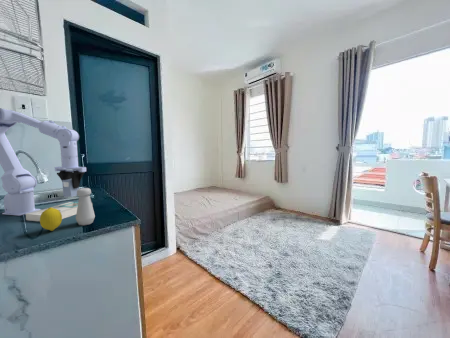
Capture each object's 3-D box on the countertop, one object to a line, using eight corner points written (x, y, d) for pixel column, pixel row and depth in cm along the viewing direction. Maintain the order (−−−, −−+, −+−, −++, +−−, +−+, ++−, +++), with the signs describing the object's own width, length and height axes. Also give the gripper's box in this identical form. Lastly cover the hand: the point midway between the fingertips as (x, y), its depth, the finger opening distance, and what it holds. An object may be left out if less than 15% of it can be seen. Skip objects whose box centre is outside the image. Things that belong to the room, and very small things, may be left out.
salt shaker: (85, 226, 70) (82, 190, 68) (71, 225, 71) (69, 189, 69) (99, 221, 75) (97, 187, 74) (86, 220, 76) (84, 186, 75)
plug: (62, 196, 85) (61, 180, 85) (72, 194, 90) (71, 179, 89) (70, 196, 85) (69, 180, 84) (79, 194, 89) (78, 179, 88)
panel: (26, 220, 76) (25, 213, 76) (71, 207, 93) (70, 201, 93) (51, 222, 74) (51, 215, 73) (92, 208, 91) (92, 202, 91)
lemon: (49, 227, 69) (48, 205, 68) (66, 227, 69) (65, 205, 68) (36, 234, 63) (33, 210, 62) (54, 234, 64) (52, 209, 63)
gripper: (46, 157, 83) (48, 188, 85) (74, 157, 81) (77, 190, 82) (62, 156, 90) (65, 185, 92) (89, 156, 87) (91, 187, 89)
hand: (71, 187), depth 87 cm, fingers closed on plug, 4 cm apart
